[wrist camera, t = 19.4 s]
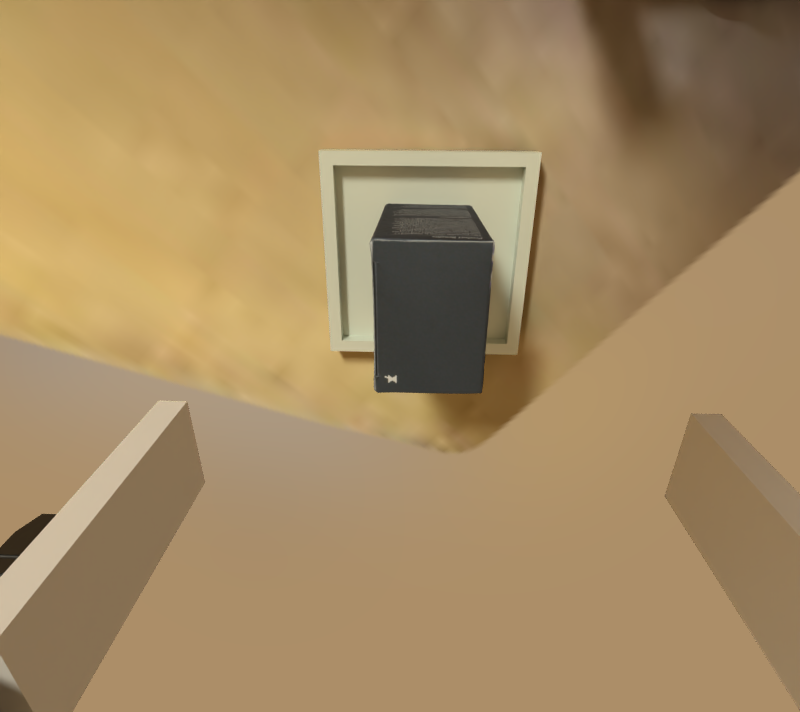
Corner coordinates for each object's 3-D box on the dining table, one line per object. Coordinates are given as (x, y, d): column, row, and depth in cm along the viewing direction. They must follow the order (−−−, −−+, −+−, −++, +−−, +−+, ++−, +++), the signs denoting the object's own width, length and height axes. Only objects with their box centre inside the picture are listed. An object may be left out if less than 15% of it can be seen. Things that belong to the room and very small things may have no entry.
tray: (334, 342, 36) (330, 351, 35) (322, 149, 30) (318, 150, 29) (513, 346, 36) (517, 354, 34) (536, 150, 30) (541, 152, 29)
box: (465, 319, 34) (483, 397, 25) (384, 317, 34) (370, 394, 25) (474, 202, 31) (498, 240, 21) (383, 200, 31) (367, 238, 21)
